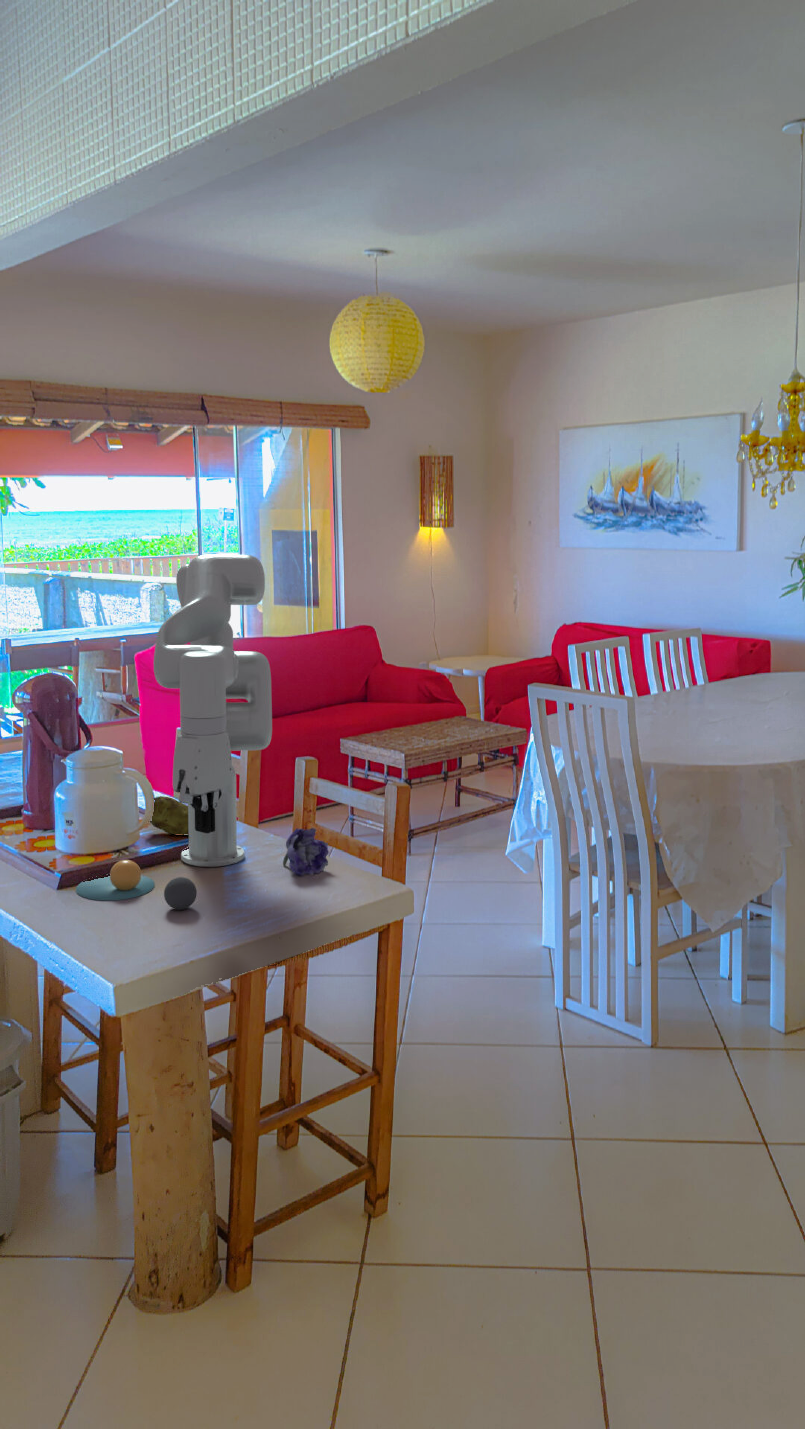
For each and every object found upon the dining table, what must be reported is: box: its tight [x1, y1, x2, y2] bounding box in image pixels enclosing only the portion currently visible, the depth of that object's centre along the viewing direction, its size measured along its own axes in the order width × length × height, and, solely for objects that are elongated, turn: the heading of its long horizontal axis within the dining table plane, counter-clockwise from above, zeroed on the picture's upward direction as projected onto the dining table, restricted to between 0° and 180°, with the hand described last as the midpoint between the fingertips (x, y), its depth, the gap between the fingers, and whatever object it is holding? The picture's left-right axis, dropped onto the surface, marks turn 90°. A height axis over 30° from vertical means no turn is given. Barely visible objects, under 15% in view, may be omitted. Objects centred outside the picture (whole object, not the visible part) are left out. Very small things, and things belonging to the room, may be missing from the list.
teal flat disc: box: [75, 874, 156, 902], centre depth 197 cm, size 14×14×1 cm
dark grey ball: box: [163, 876, 198, 911], centre depth 187 cm, size 6×6×6 cm
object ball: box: [109, 859, 142, 891], centre depth 196 cm, size 6×6×6 cm
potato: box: [149, 795, 188, 835], centre depth 230 cm, size 8×13×8 cm, turn 71°
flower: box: [282, 827, 329, 877], centre depth 208 cm, size 9×9×10 cm
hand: (205, 830), depth 182 cm, fingers closed
